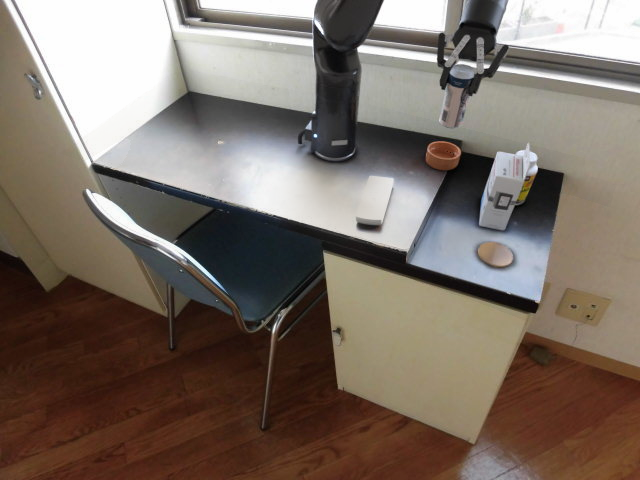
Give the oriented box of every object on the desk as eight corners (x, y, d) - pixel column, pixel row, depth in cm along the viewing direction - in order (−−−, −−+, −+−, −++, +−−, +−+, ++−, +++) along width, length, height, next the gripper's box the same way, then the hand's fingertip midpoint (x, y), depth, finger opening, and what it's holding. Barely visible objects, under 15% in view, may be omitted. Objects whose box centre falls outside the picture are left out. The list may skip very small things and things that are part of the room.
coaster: (476, 262, 83) (476, 260, 83) (479, 240, 87) (480, 238, 87) (511, 271, 82) (512, 269, 81) (513, 248, 86) (514, 246, 85)
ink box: (480, 199, 96) (501, 135, 86) (505, 204, 95) (530, 140, 85) (478, 226, 90) (500, 161, 80) (504, 231, 89) (531, 166, 79)
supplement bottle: (504, 208, 94) (521, 165, 87) (491, 191, 98) (506, 149, 91) (530, 204, 95) (548, 162, 88) (515, 188, 99) (532, 146, 92)
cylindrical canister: (461, 131, 97) (476, 75, 89) (438, 128, 98) (450, 72, 90) (461, 119, 101) (475, 64, 92) (438, 117, 101) (450, 61, 93)
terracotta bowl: (422, 166, 104) (424, 155, 102) (428, 150, 109) (430, 138, 107) (455, 173, 102) (458, 162, 100) (459, 156, 107) (463, 145, 105)
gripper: (448, -9, 91) (419, 76, 91) (525, 3, 87) (495, 92, 87) (449, 12, 98) (422, 90, 98) (520, 24, 94) (492, 106, 94)
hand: (456, 91), depth 92 cm, fingers closed on cylindrical canister, 4 cm apart
